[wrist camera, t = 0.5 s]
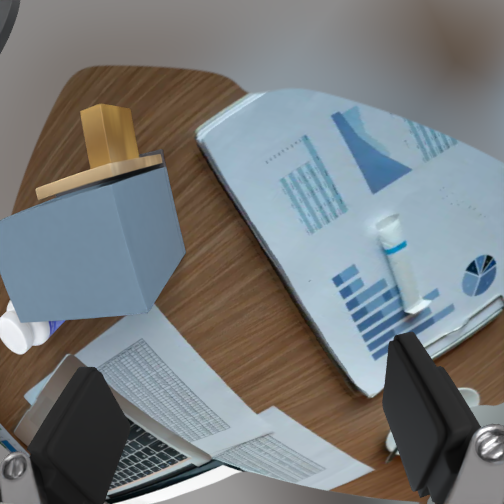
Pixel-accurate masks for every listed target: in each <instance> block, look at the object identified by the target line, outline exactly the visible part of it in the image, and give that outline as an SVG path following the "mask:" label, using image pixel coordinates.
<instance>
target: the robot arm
mask: <svg viewBox="0 0 504 504" xmlns="http://www.w3.org/2000/svg"><path fill="white" fill-rule="evenodd" d="M382 403H383V410H384V413H385V415H386V418H387V421H388V423H389V426H390V429H391V432H392V434H393V437H394V440H395V443H396V445H397V448H398V451H399V454H400V457H401V460H402V463H403V465H404V468H405V471H406V474H407V477H408V480H409V483H410V486H411V489H412V491H418V493H419V496H420V498H421V497H424V496H427V495H430V496H431V498H432V501H433V502H435V504H504V426H503V425H500V424H490V425H486V426H484V427H482V428H481V426H480V425H479V423H478V421H477V420H476V418H475V416H474V415H473V413H472V411H471V410H470V408H469V406H468V405H467V403H466V401H465V400H464V398H463V397H462V395H461V393H460V392H459V390H458V389H457V387H456V386H455V384H454V382H453V381H452V379H451V378H450V376H449V375H448V373H447V372H446V370H445V369H444V368H443V367H441V366H439V367H436V365H435V363H434V362H433V360H432V359H431V357H430V356H429V354H428V353H427V351H426V350H425V348H424V347H423V345H422V344H421V342H420V341H419V339H418V338H417V336H416V335H415V334H414V332H408V333H404V334H399V335H396V336H395V337H394V341H390V342H389V346H388V357H387V368H386V377H385V385H384V393H383V401H382ZM129 433H130V424H129V422H128V420H127V418H126V416H125V415H124V413H123V411H122V410H121V408H120V406H119V404H118V403H117V401H116V399H115V397H114V396H113V394H112V392H111V390H110V388H109V386H108V384H107V383H106V381H105V379H104V377H103V375H102V373H101V372H99V371H98V370H97V369H96V368H95V367H79V368H78V369H77V371H76V372H75V374H74V375H73V377H72V378H71V380H70V381H69V383H68V384H67V386H66V387H65V389H64V390H63V392H62V393H61V395H60V396H59V398H58V400H57V401H56V403H55V404H54V406H53V407H52V409H51V410H50V412H49V414H48V415H47V417H46V418H45V420H44V422H43V423H42V425H41V427H40V428H39V430H38V431H37V433H36V435H35V436H34V438H33V440H32V441H31V443H30V445H29V447H28V448H27V450H28V451H29V452H30V453H31V456H30V457H29V456H28V455H27V454H26V453H24V452H19V451H17V452H12V453H10V454H9V455H7V456H6V457H5V458H4V459H3V461H2V462H1V464H0V504H103V503H104V501H105V499H106V496H107V493H108V490H109V487H110V485H111V482H112V479H113V476H114V473H115V471H116V468H117V465H118V462H119V460H120V457H121V454H122V452H123V449H124V446H125V444H126V441H127V438H128V436H129Z"/></svg>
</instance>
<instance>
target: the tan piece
mask: <svg viewBox="0 0 504 504" xmlns="http://www.w3.org/2000/svg"><path fill="white" fill-rule="evenodd" d="M80 114H81V120H82V127H83V132H84V138H85V143H86V149H87V154H88V159H89V164H90V168H91V169H90V170H87V171H84V172H81V173H78V174H75V175H72V176H69V177H66V178H63V179H60V180H58V181H55V182H52V183H49V184H47V185H44V186H41V187H39V188H36V194H37V198H38V200H41V199H44V198H47V197H50V196H53V195H56V194H59V193H62V192H65V191H68V190H71V189H74V188H77V187H80V186H84V185H87V184H90V183H93V182H97V181H100V180H104V179H107V178H110V177H114V176H117V175H121V174H124V173H128V172H131V171H135V170H138V169H142V168H146V167H149V166H153V165H157V164H161V163H162V158H161V154H158V155H152V156H146V157H140V158H139V153H138V148H137V143H136V138H135V133H134V127H133V122H132V116H131V110H130V109H128V108H123V107H117V106H112V105H106V104H98V105H95V106H92V107H90V108H87V109H85V110H82V111H80Z"/></svg>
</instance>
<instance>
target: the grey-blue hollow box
mask: <svg viewBox="0 0 504 504" xmlns="http://www.w3.org/2000/svg"><path fill="white" fill-rule="evenodd" d="M158 154H161V158H162V163H161V164H157V165H153V166H149V167H146V168H142V169H138V170H135V171H131V172H128V173H124V174H121V175H117V176H114V177H110V178H107V179H104V180H100V181H97V182H93V183H90V184H87V185H84V186H80V187H77V188H74V189H71V190H68V191H65V192H62V193H59V194H56V197H57V198H54V199H52V200H49V201H46V202H44V203H41V204H38V205H36V206H33V207H31V208H28V209H26V210H23V211H21V212H18V213H16V214H13V215H11V216H9V217H6V218H4V219H2V220H0V274H1V276H2V279H3V282H4V284H5V287H6V290H7V292H8V295H9V297H10V299H11V302H12V304H13V307H14V309H15V311H16V314H17V316H18V318H19V320H20V322H21V323H28V322H45V321H61V320H74V319H87V318H99V317H111V316H122V315H132V314H142V313H148V312H149V311H150V309H151V307H152V306H153V304H154V302H155V301H156V299H157V297H158V296H159V294H160V293H161V291H162V289H163V288H164V286H165V285H166V283H167V281H168V280H169V278H170V277H171V275H172V273H173V272H174V270H175V269H176V267H177V266H178V264H179V263H180V261H181V259H182V258H183V256H184V255H185V253H186V251H185V247H184V243H183V239H182V235H181V231H180V226H179V222H178V218H177V214H176V209H175V205H174V200H173V196H172V191H171V187H170V182H169V178H168V173H167V168H166V164H165V159H164V154H163V150H162V149H160V150H156V151H152V152H148V153H145V154H141V155H139V158H140V157H146V156H152V155H158Z"/></svg>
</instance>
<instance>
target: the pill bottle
mask: <svg viewBox="0 0 504 504" xmlns="http://www.w3.org/2000/svg"><path fill="white" fill-rule="evenodd" d="M64 321H65V320H61V321H45V322H28V323H21V322H20V320H19V318H18V316H17V314H16V311H15V309H14V307H13V304H12V302H11V300H10V302H9V304H8V307H7V312H6V313H4V314H3V315H2V316H1V317H0V338H1V339H2V341H3V342H4V344H5V345H6V346H7V347H8V348H9V349H10V350H11V351H13V352H15V353H17V354H24V353H25V352H26V351H28V350H29V349H30V348H31V346H32V345H36V346H37V345H41V344H43V343H44V342H45V341H46V340H47V339H48V338H49V337H50V336H51V335H52V334H53V333H54V332H55V331H56V330H57V329H58V327H59V326H60V325H61V324H62V323H63V322H64Z"/></svg>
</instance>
